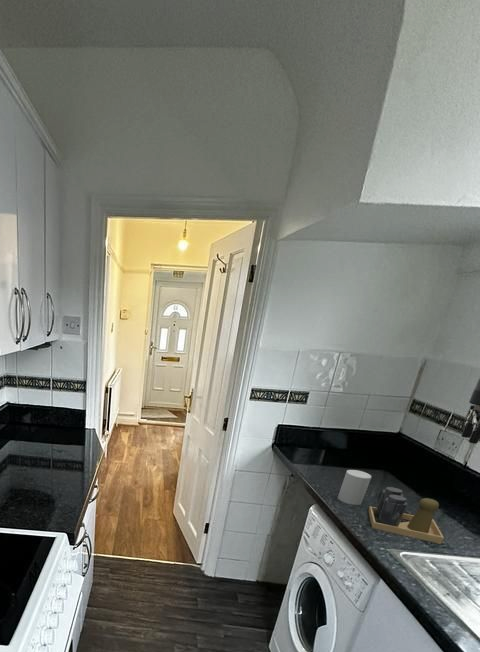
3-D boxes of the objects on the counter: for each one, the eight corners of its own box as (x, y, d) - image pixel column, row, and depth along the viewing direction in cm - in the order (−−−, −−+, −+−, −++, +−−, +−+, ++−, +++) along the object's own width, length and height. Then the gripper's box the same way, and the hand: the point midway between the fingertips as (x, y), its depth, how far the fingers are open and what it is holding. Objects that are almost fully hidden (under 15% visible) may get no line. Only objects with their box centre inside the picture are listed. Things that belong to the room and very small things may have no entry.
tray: (430, 525, 144) (433, 519, 143) (440, 544, 132) (444, 537, 131) (367, 512, 152) (369, 506, 151) (371, 529, 139) (373, 522, 138)
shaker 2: (395, 525, 142) (407, 496, 137) (398, 532, 137) (410, 502, 132) (375, 521, 144) (386, 492, 140) (377, 528, 139) (388, 498, 135)
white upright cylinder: (365, 507, 157) (376, 478, 152) (346, 507, 155) (357, 478, 150) (350, 497, 164) (360, 469, 159) (332, 498, 162) (341, 469, 157)
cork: (407, 522, 144) (419, 494, 139) (428, 528, 141) (441, 499, 136) (407, 529, 139) (419, 500, 134) (428, 535, 136) (442, 505, 131)
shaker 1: (392, 516, 148) (403, 488, 144) (394, 523, 143) (406, 494, 139) (373, 512, 151) (383, 485, 146) (374, 519, 146) (385, 490, 141)
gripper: (514, 394, 122) (490, 447, 129) (497, 388, 134) (476, 437, 140) (482, 391, 125) (460, 443, 132) (468, 385, 137) (449, 433, 143)
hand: (468, 440), depth 136 cm, fingers open, 8 cm apart
